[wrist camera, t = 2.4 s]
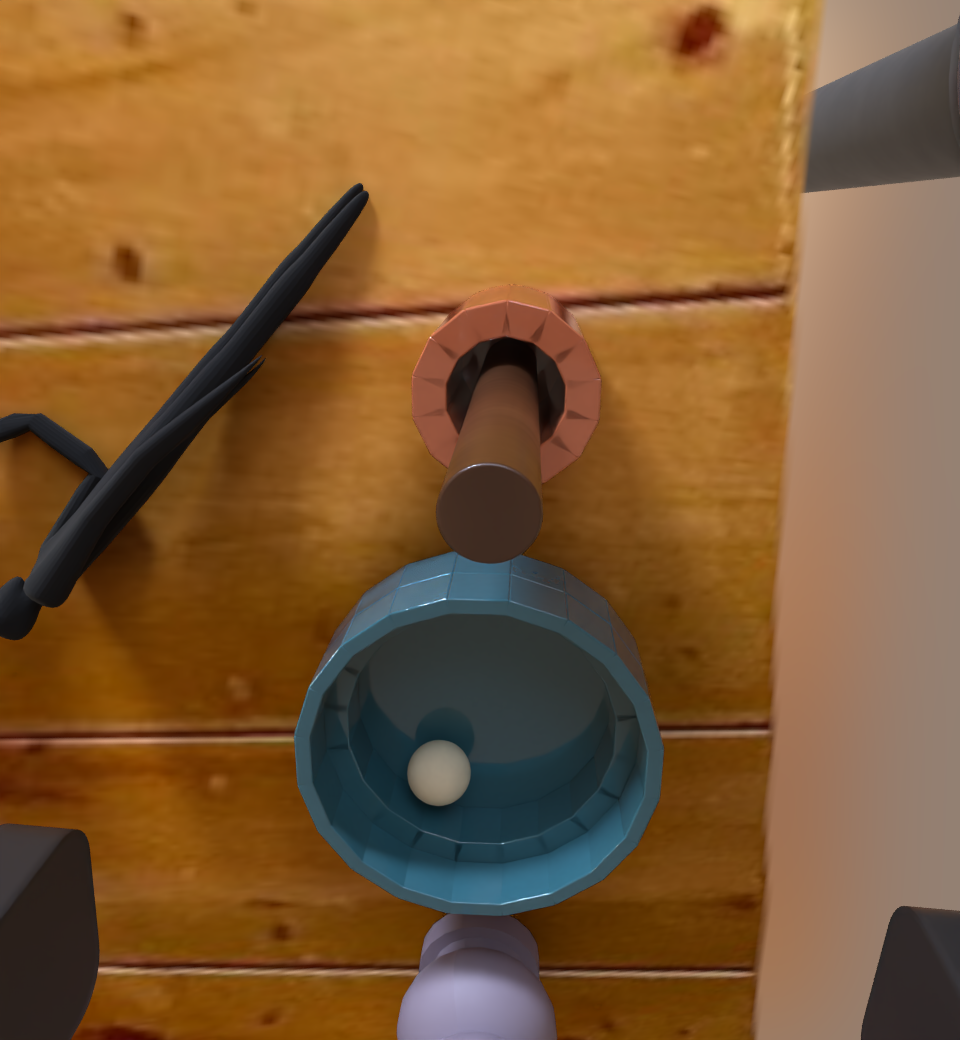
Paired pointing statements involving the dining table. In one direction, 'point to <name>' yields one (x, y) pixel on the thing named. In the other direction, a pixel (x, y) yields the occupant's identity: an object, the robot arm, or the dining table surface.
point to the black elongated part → (158, 431)
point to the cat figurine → (477, 984)
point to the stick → (496, 462)
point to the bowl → (482, 736)
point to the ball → (439, 772)
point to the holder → (461, 353)
